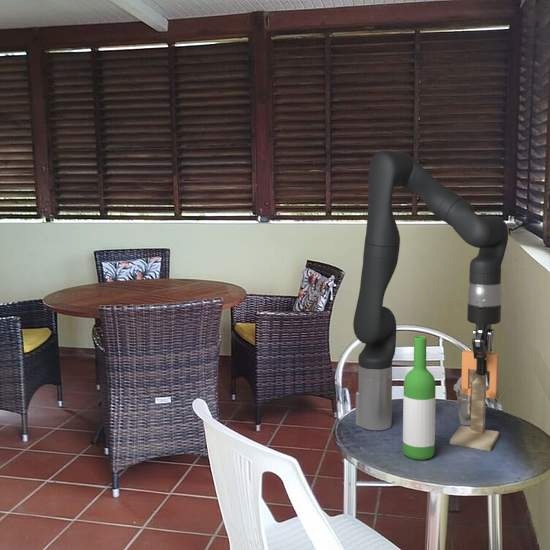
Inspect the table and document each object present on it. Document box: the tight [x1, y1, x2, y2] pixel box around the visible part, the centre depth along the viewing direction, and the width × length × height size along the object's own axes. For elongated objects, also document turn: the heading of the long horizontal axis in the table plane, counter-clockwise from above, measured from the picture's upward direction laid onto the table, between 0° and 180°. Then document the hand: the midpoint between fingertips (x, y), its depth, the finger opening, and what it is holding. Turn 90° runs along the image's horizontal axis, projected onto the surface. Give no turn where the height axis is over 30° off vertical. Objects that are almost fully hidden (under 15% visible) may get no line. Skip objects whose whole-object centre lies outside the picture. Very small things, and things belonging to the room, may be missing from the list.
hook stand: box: [449, 369, 500, 452], centre depth 171 cm, size 10×14×20 cm
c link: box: [461, 349, 499, 400], centre depth 159 cm, size 8×2×10 cm, turn 61°
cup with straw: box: [453, 376, 472, 427], centre depth 184 cm, size 8×9×20 cm
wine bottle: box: [402, 335, 437, 461], centre depth 163 cm, size 8×8×30 cm
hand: (482, 373), depth 158 cm, fingers closed on c link, 2 cm apart
